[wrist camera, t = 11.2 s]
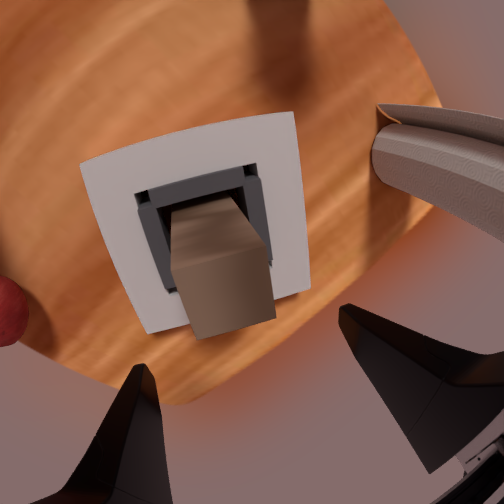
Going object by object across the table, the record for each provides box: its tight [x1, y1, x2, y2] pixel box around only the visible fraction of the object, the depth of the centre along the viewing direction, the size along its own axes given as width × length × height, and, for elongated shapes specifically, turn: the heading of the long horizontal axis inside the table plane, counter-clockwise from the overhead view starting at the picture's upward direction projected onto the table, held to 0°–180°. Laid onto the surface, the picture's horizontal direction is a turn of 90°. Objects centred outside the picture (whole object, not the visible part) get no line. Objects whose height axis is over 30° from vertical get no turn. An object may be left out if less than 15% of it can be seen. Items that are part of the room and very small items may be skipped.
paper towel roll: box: [372, 103, 504, 242], centre depth 13 cm, size 7×6×21 cm
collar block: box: [79, 112, 311, 334], centre depth 20 cm, size 14×14×3 cm
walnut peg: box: [171, 190, 276, 340], centre depth 16 cm, size 4×4×10 cm
